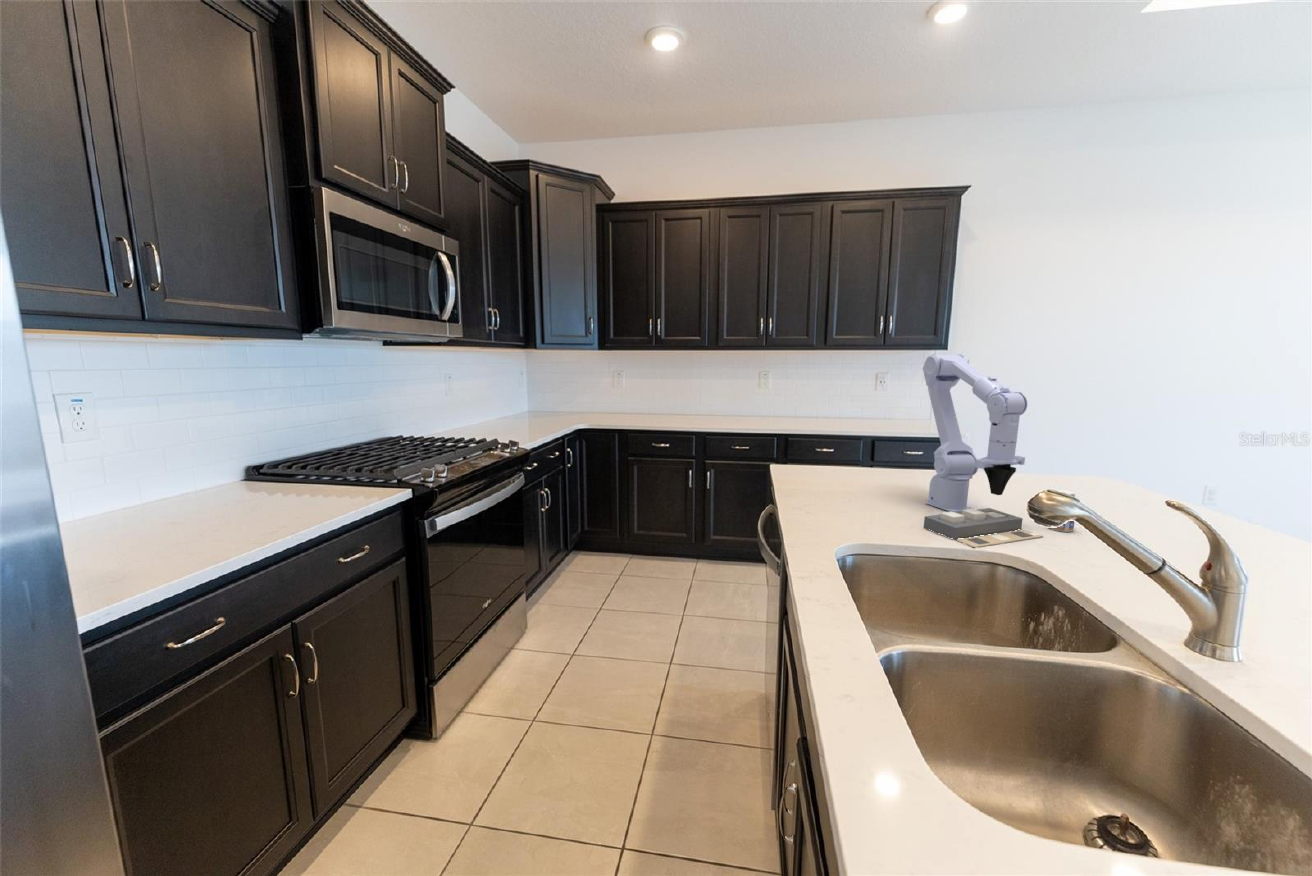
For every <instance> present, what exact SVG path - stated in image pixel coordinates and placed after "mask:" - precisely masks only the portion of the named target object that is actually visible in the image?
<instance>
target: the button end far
mask: <svg viewBox="0 0 1312 876" xmlns="http://www.w3.org/2000/svg"><path fill="white" fill-rule="evenodd" d="M986 515H988V516H991V517H994V518H1000V517H1006V516H1005V515H1002V514H998V513H995V512H987V513H986Z"/></svg>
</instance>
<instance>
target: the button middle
mask: <svg viewBox="0 0 1312 876" xmlns="http://www.w3.org/2000/svg"><path fill="white" fill-rule="evenodd" d="M962 515H964V516H965V518H967V519H970V520H973V521H978V520H985V517H986V513H984V512H981V511H978V509H975V508H974V509H968V510H962Z"/></svg>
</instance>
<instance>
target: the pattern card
mask: <svg viewBox="0 0 1312 876" xmlns="http://www.w3.org/2000/svg"><path fill="white" fill-rule="evenodd" d="M1030 533H1034V532H1032V531H1029V530H1026V529H1021V530H1017V531H1011V532H1004V533H997V534H991V535H984V536H978V537H971V538H964V539H958V540H957V541H956V542H958V541H959V543H960V542H961V543H960V544H963V543H965V544H966V546H968V545H969V546H968V547H971V548H973V547H979V548H985V547H992V546H998V545H1002V543H1004V544H1010V543H1017V542H1022V541H1021V540H1023V541H1027V540H1026V539H1029V540H1031V539H1030V538H1035V539H1038V538H1037V537H1041V538H1044V535H1041V534H1039V535H1035V536H1034V535H1032V534H1030ZM965 544H964V545H965ZM997 544H998V545H997Z"/></svg>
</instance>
